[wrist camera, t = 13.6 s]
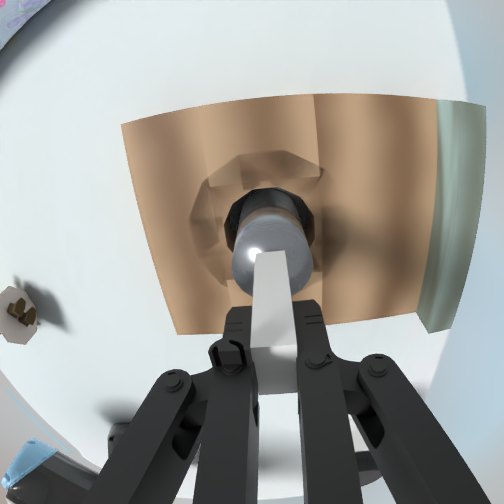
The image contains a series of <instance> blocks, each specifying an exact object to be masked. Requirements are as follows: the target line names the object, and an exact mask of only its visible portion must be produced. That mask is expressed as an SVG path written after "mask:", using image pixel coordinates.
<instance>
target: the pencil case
mask: <svg viewBox="0 0 504 504" xmlns="http://www.w3.org/2000/svg"><path fill="white" fill-rule="evenodd" d="M50 1H51V0H0V50H1V49H2V48H3V47H4V46H5V45H6V43H7V42H8V41H9V39H10V38H11V37H12V36H13V35H14V34H15V33H16V32H17V31H18V30H19V29H20V28H21V27H22V26H23V25H24V24H25V23H26V22H27V21H28V20H29V19H30V18H31V17H32V16H33V15H34V14H35V13H37V12H38V11H39V10H40V9H41V8H43V7H44V6H45V5H46V4H47V3H48V2H50Z"/></svg>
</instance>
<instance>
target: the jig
mask: <svg viewBox="0 0 504 504" xmlns="http://www.w3.org/2000/svg"><path fill="white" fill-rule="evenodd" d="M121 128H122V134H123V139H124V145H125V150H126V155H127V160H128V165H129V169H130V174H131V178H132V183H133V187H134V192H135V196H136V200H137V204H138V208H139V212H140V216H141V220H142V224H143V227H144V231H145V235H146V238H147V242H148V246H149V249H150V253H151V256H152V259H153V263H154V266H155V269H156V273H157V276H158V279H159V282H160V285H161V288H162V292H163V295H164V298H165V301H166V304H167V307H168V310H169V312H170V315H171V318H172V321H173V324H174V327H175V329H176V332H177V335H193V334H222V333H223V332H224V326H225V320H226V314H227V313H228V312H229V310H230V309H231V308H232V307H237V306H251V305H253V297H252V296H250V295H248V294H247V293H245V292H244V291H243V290H242V289H241V288H240V287H239V286H238V285H237V283H236V281H235V279H234V277H233V274H232V269H231V263H232V257H233V252H234V246H235V241H236V235H235V234H234V233H233V231H232V230H231V225H230V219H229V211H230V208H231V206H232V204H233V203H234V202H236V201H237V200H238V199H240V198H241V197H243V196H244V195H245V194H247V193H248V192H250V191H251V190H253V189H262V188H272V187H279V188H282V189H284V190H286V191H288V192H291V193H293V194H295V195H297V196H300V197H301V198H302V199H303V201H304V202H305V204H306V205H307V207H308V211H309V224H308V226H307V227H306V229H305V231H304V233H305V236H306V239H307V242H308V246H309V249H310V252H311V255H312V259H313V270H312V274H311V277H310V279H309V281H308V282H307V284H306V285H305V286H304V287H303V289H301V290H300V291H299V292H298V293H296V294H295V295H293V296H291V300H292V301H301V300H311V299H314V300H315V301H316V302H317V303H318V304H319V305H320V307H321V311H322V315H323V319H324V323H325V325H332V324H340V323H348V322H356V321H363V320H370V319H377V318H383V317H390V316H396V315H402V314H407V313H413V312H416V313H417V315H418V316H419V318H420V320H421V321H422V323H423V325H424V327H425V328H426V330H427V332H428V333H434V332H438V331H442V330H446V329H450V328H451V326H452V323H453V320H454V317H455V314H456V311H457V308H458V305H459V302H460V299H461V295H462V292H463V288H464V285H465V281H466V277H467V273H468V270H469V266H470V262H471V257H472V253H473V248H474V243H475V238H476V233H477V228H478V222H479V216H480V209H481V201H482V193H483V184H484V173H485V158H486V106H482V105H477V104H472V103H467V102H462V101H451V100H436V99H428V98H419V97H409V96H396V95H380V94H302V95H286V96H273V97H262V98H253V99H244V100H237V101H229V102H222V103H216V104H210V105H204V106H198V107H193V108H187V109H182V110H177V111H173V112H168V113H164V114H159V115H155V116H151V117H147V118H143V119H139V120H135V121H131V122H128V123H124V124H121Z"/></svg>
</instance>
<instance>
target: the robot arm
mask: <svg viewBox="0 0 504 504" xmlns="http://www.w3.org/2000/svg"><path fill="white" fill-rule="evenodd" d="M208 353H209V356H210V360H211V363H212V366H213V367H212V368H211V369H209V370H207V371H205V372H202V373H198V374H195V375H191V376H190V375H189V374H188V373H187V372H186V371H183V370H180V369H173V370H169V371H167V372H165V373H163V374H162V375H161V376H160V377H159V378H158V379H157V380H156V382H155V384H154V385H153V387H152V388H151V390H150V392H149V393H148V395H147V396H146V398H145V400H144V401H143V403H142V405H141V406H140V408H139V409H138V411H137V413H136V414H135V416H134V417H133V419H132V421H131V422H130V424H129V423H118V424H114V425H113V426H112V427H111V429H110V432H109V435H108V460H107V462H106V463H105V465H104V466H103V468H102V470H101V472H100V473H98V472H96V471H93V470H92V469H89V468H87V467H85V466H83V465H82V464H80V463H78V462H76V461H74V460H73V459H71V458H69V457H67V456H66V455H64V454H62V453H61V452H59V451H58V449H54V448H52V447H51V446H49V445H47V444H45V443H43V442H42V441H40V440H38V439H30V440H28V441H27V442H26V443H25V445H24V446H23V447H22V448H21V450H20V451H19V453H18V454H17V456H16V457H15V459H14V460H13V462H12V463H11V465H10V467H9V468H8V470H7V472H6V474H5V476H4V477H3V479H2V481H1V484H2V485H3V487H4V488H5V489H8V493H7V495H6V498H5V499H6V501H7V503H8V504H172V503H173V501H174V499H175V497H176V495H177V493H178V491H179V488H180V486H181V484H182V482H183V480H184V478H185V476H186V473H187V471H188V469H189V467H190V465H191V463H192V460H193V458H194V456H195V454H196V452H197V449H198V447H199V445H200V443H201V448H200V455H199V461H198V468H197V475H196V482H195V489H194V496H193V504H257V493H258V452H259V403H258V393H259V395H269V394H284V393H296V392H298V414H299V424H300V438H301V453H302V470H303V489H304V504H363V499H362V493H361V486H360V479H359V473H358V467H357V461H356V455H355V449H354V443H353V438H352V432H351V427H350V422H349V417H348V414H350V415H351V417H352V419H353V421H354V423H355V425H356V426H357V428H358V430H359V432H360V434H361V436H362V438H363V440H364V442H365V444H366V446H367V447H368V449H369V451H370V453H371V455H372V457H373V459H374V461H375V463H376V465H377V467H378V469H379V471H380V472H381V474H382V476H383V478H384V480H385V482H386V484H387V486H388V488H389V490H390V492H391V494H392V495H393V498H394V499H395V502H396V504H491V503H490V501H489V499H488V498H487V496H486V494H485V493H484V491H483V489H482V488H481V486H480V484H479V483H478V482H477V480H476V478H475V477H474V475H473V473H472V472H471V470H470V469H469V467H468V466H467V464H466V463H465V461H464V459H463V458H462V456H461V455H460V454H459V452H458V450H457V449H456V447H455V446H454V444H453V443H452V441H451V440H450V439H449V437H448V436H447V434H446V433H445V431H444V430H443V428H442V427H441V425H440V424H439V422H438V421H437V420H436V418H435V417H434V415H433V414H432V412H431V411H430V410H429V408H428V407H427V405H426V404H425V403H424V401H423V400H422V398H421V397H420V396H419V394H418V393H417V391H416V390H415V389H414V387H413V386H412V385H411V383H410V382H409V380H408V379H407V378H406V376H405V375H404V374H403V372H402V371H401V370H400V368H399V367H398V366H397V364H396V363H395V362H394V361H393V360H392V359H391V358H390V357H388V356H386V355H383V354H372V355H368V356H367V357H365V358H363V359H362V361H361V362H353V361H347V360H343V359H341V358H339V357H337V356H336V355H335V354H334V353H333V352H332V350H331V348H330V344H329V340H328V335H327V331H326V327H325V323H324V319H323V315H322V311H321V307H320V305H319V304H318V303H317V302H316V301H315V300H314V299H311V300H301V301H292V300H291V292H290V285H289V277H288V270H287V263H286V256H285V250H284V251H273V252H262V253H255V265H254V285H253V305H251V306H237V307H232V308H231V309H230V310H229V312H228V313H227V314H226V320H225V326H224V332H223V338H222V339H220V340H218V341H216V342H215V343H213V344H212V345H211V346H210V348H209V351H208Z"/></svg>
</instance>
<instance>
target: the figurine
mask: <svg viewBox="0 0 504 504" xmlns="http://www.w3.org/2000/svg"><path fill="white" fill-rule="evenodd" d="M36 331H37V309H36V307H35V306H34V304H33V303H32V301H31V299H30V298H29V296H28V295H27V293H26V291H24V290H21V289H17V288H14V287H11V286H8V287H7V288H6V289H5V290H4V291H3V292H2V293H1V294H0V335H1V334H3V336H4V337H5V339H6V340H7V342H10V343H17V344H24V345H26V344H27V342H28V341H29V340H30V339H31V337H32V336H33V335H34V334H35V333H36Z"/></svg>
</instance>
